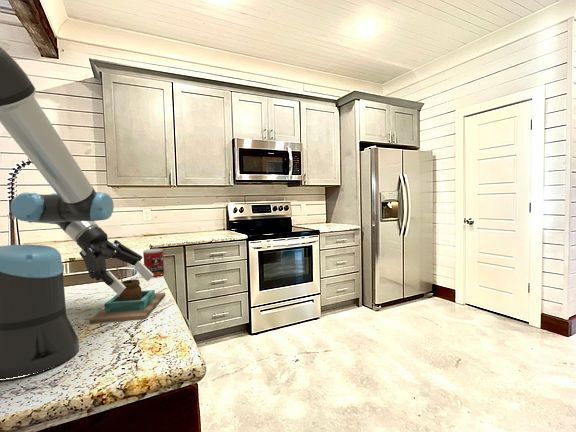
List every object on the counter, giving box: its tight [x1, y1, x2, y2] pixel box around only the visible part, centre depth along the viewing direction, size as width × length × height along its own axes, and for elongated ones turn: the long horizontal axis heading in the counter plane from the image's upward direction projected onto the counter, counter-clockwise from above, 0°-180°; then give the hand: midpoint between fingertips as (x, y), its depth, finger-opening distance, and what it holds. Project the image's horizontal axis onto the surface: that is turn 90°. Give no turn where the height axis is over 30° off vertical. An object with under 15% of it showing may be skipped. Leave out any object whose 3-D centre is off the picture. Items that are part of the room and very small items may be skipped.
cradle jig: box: [89, 289, 166, 324], centre depth 92 cm, size 20×14×4 cm
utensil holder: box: [115, 266, 143, 301], centre depth 91 cm, size 6×6×12 cm
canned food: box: [142, 248, 165, 278], centre depth 130 cm, size 8×8×11 cm
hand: (137, 284), depth 91 cm, fingers open, 13 cm apart
